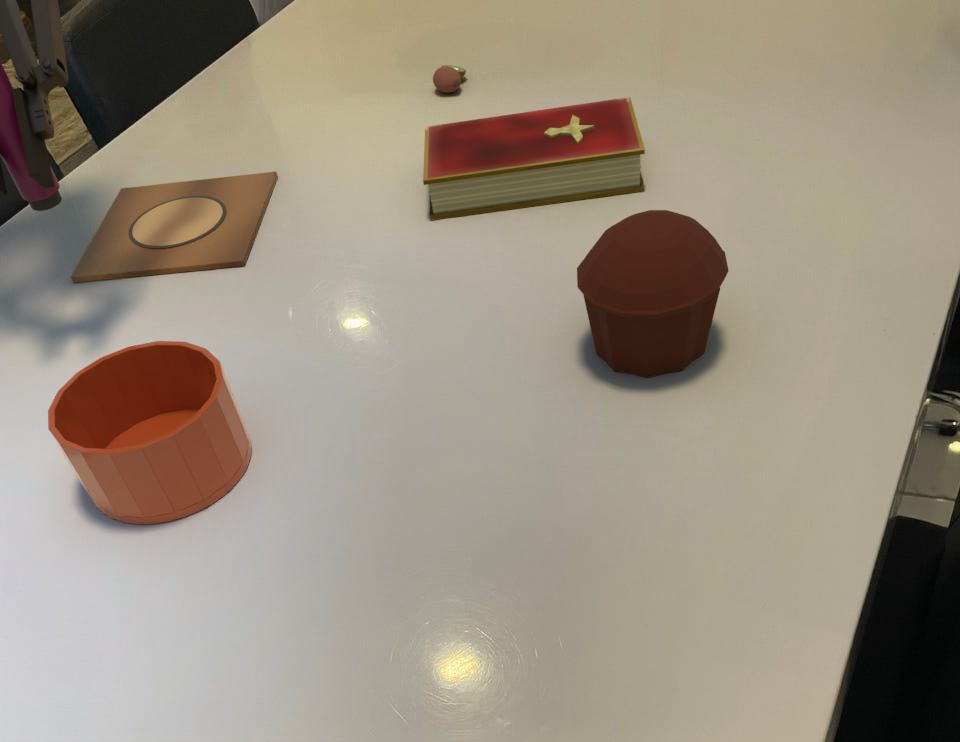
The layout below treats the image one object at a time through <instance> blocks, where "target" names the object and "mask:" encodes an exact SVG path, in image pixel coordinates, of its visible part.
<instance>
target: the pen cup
mask: <svg viewBox="0 0 960 742" xmlns="http://www.w3.org/2000/svg"><path fill="white" fill-rule="evenodd" d="M47 415H48V416H47V427H48V428H47V429H48V431H49V433H50V435H51V436H52V438H53V439H54V441H55V443H56V444H57V446H58V447H59V449H60V451H61V452H62V454H63V456H64V457H65V459H66V461H67V462H68V464H69V466H70V468H71V469H72V470H73V472H74V474H75V476H76V477H77V479H78V480H79V482H80V484H81V485H82V487H83V489H84V490H85V492H86V494H87V495H88V496H89V497H90V499H91V501H92V502H93V504H94V505H95V507H96V508H97V509H98V510H99V511H100V512H101V513H102V514H104V515H105V516H107V517H109V518H111V519H113V520H115V521H118V522H121V523H126V524H130V525H131V524H132V525H155V524H163V523H168V522H173V521H176V520H179V519H183V518H186V517H188V516H191V515H193V514H196V513H199V512H200V511H202V510H205V509H206V508H207V507H210V506H211V505H213V504H215V503H216V502H217V501H219V500H220V499H221V498H223V497H224V496H225V495H227V494H228V493H229V492H230V491H231V490H232V489H233V488H235V486H236V485H237V483H238V482H239V481H240V480H241V478H242V477H243V476H244V474H245V472H246V470H247V469H248V466H249V463H250V461H251V456H252V443H251V438H250V436H249V434H248V429H247V426H246V423H245V421H244V418H243V416H242V414H241V411H240V409H239V406H238V404H237V400H236V398H235V395H234V393H233V392H232V389H231V386H230V383H229V381H228V379H227V376H226V374H225V371H224V368H223V366H222V364H221V362H220V360H219V359H218V358H217V357H216V356H215V355H214V354H213V353H211V351H209V350H208V349H207V348H205V347H203V346H200V345H196V344H193V343H190V342H187V341H177V340H176V341H175V340H174V341H173V340H172V341H171V340H156V341H152V342H151V341H150V342H146V343H145V342H144V343H141V344H136V345H129V346H127V347H123V348H121V349H119V350H117V351H114V352H111V353H108V354H106V355H103V356H101V357H100V358H97V359H96V360H95V361H92V362H91V363H90V364H88V365H86V366H85V367H83V368H81V369H80V370H78V371H77V372H75V374H73V375H72V377H70V378H69V379H68V380H67V381H66V383H64V384H63V386H62V387H60V388H59V389H58V391H57V392H56V394H55V396H54V398H53V399H52V402H51V404H50V405H49V408H48V410H47Z"/></svg>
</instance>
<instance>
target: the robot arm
mask: <svg viewBox="0 0 960 742" xmlns="http://www.w3.org/2000/svg"><path fill="white" fill-rule="evenodd" d="M30 9H31V16H32V21H33V29H34V36H35V37H34V38H35V44H36V50H37V56H36V54H35V51H34V49H33V46H32V43H31V40H30V38H29V36H28V33H27V30H26V27H25V25H24V23H23V20H22V17H21V15H20V7H19V5H18V2H17V0H0V34H1V37H2V40H3V42H4V44H5V47H6V50H7V52H8V55H9V58H10V60H11V64H12V66H13V69H14V71H15V73H16V74H15V75H14V78H15V80H17V81H18V82H19V83H20V85H22V87H15V88H13V89H11V92H12V97H13V102H14V106H15V111H16V115H17V120H18V125H19V129H20V134H21V138H22V143H23V148H24V152H25V157H26V162H27V166H28V171H29V175H30V177H31V178H33V179H34V180H35V181H37V182H38V183H39V184H40V185H42V186H43V187H44V188H51V187H55V186H54V181H53V176H52V172H51V168H52V166H51V163H50V158H49V153H48V149H47V144H46V140H50V139H54V137H55V126H54V123H53V118H52V112H51V108H50V103H49V96H50V95H49V94H51V92H52V91H53V90H54V89H56V88H65V87H66V86H67V85H68V83H69V73H68V65H67V58H66V50H65V42H64V35H63V28H62V21H61V13H60V6H59V0H30ZM50 166H51V167H50ZM5 197H8V190H7V185H6V181H5V176H4V172H3V167H2V163H1V161H0V198H5Z"/></svg>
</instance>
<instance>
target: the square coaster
mask: <svg viewBox="0 0 960 742" xmlns="http://www.w3.org/2000/svg"><path fill="white" fill-rule="evenodd" d="M278 177H279V175H278V172H277V171H268V172H259V173H249V174H240V175H231V176H223V177H214V178H213V177H211V178H203V179H195V180H186V181H177V182H176V181H175V182H168V183H161V184H160V183H159V184H150V185H149V184H148V185H139V186H130V187H121V188H120V189H119V191H118V193H117V194H116V197H115V198H114V200H113V202H112V203H111V206H110V207H109V208H108V211H106V214H105V216H104V218H103V219H102V221H101V223H100V225H99V226H98V228H97V230H96V232H95V234H93V237H92V239H91V240H90V242H89V244H88V246H87V247H86V249H85V250H84V253H83V255H82V256H81V258H80V260H79V262H78V264H77V265H76V267H75V268H74V271H73V272H72V274H71V276H70V280H71V281H72V283H84V282H93V281H94V282H95V281H102V280H103V281H104V280H115V279H116V280H117V279H125V278H135V277H136V278H137V277H144V276H145V277H146V276H147V277H148V276H155V275H156V276H157V275H167V274H176V273H177V274H178V273H189V272H197V271H208V270H217V269H220V270H221V269H229V268H238V267H239V268H240V267H245V266H246V264H247V261H248V259H249V257H250V254H251V251H252V248H253V245H254V242H255V240H256V237H257V234H258V232H259V229H260V226H261V224H262V221H263V218H264V215H265V213H266V210H267V207H268V205H269V201H270V199H271V196H272V194H273V192H274V188H275V186H276V183H277V181H278Z"/></svg>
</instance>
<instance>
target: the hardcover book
mask: <svg viewBox="0 0 960 742" xmlns="http://www.w3.org/2000/svg"><path fill="white" fill-rule="evenodd" d="M423 146H424V147H423V148H424V150H423V152H424V153H423V173H422V175H423V177H422V181H423V186H427V185H428V190H429V221H435V220H436V221H437V220H442V219H443V220H444V219H449V218H450V219H451V218H457V217H464V216H465V217H466V216H471V215H472V216H473V215H480V214H486V213H493V212H495V213H496V212H501V211H508V210H509V211H510V210H515V209H523V208H531V207H538V206H544V205H553V204H560V203H561V204H562V203H567V202H574V201H575V202H576V201H581V200H588V199H596V198H603V197H612V196H618V195H619V196H620V195H627V194H632V193H640V192H645V191H646V190H645V189H646V187H645V183H644V178H643V176H642V172H641V171H642V170H641V155H645V154H646V150H645V145H644V142H643V139H642V135H641V131H640V128H639V124H638V120H637V117H636V113H635V109H634V106H633V102H632V99H631V96H628V97H621V98H613V99H607V100H600V101H593V102H586V103H580V104H573V105H566V106H565V105H564V106H559V107H553V108H546V109H539V110H538V109H537V110H531V111H525V112H517V113H511V114H504V115H497V116H491V117H489V116H488V117H483V118H476V119H469V120H461V121H457V122H449V123H442V124H441V123H440V124H435V125H429V126H425V127H424V145H423Z"/></svg>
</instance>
